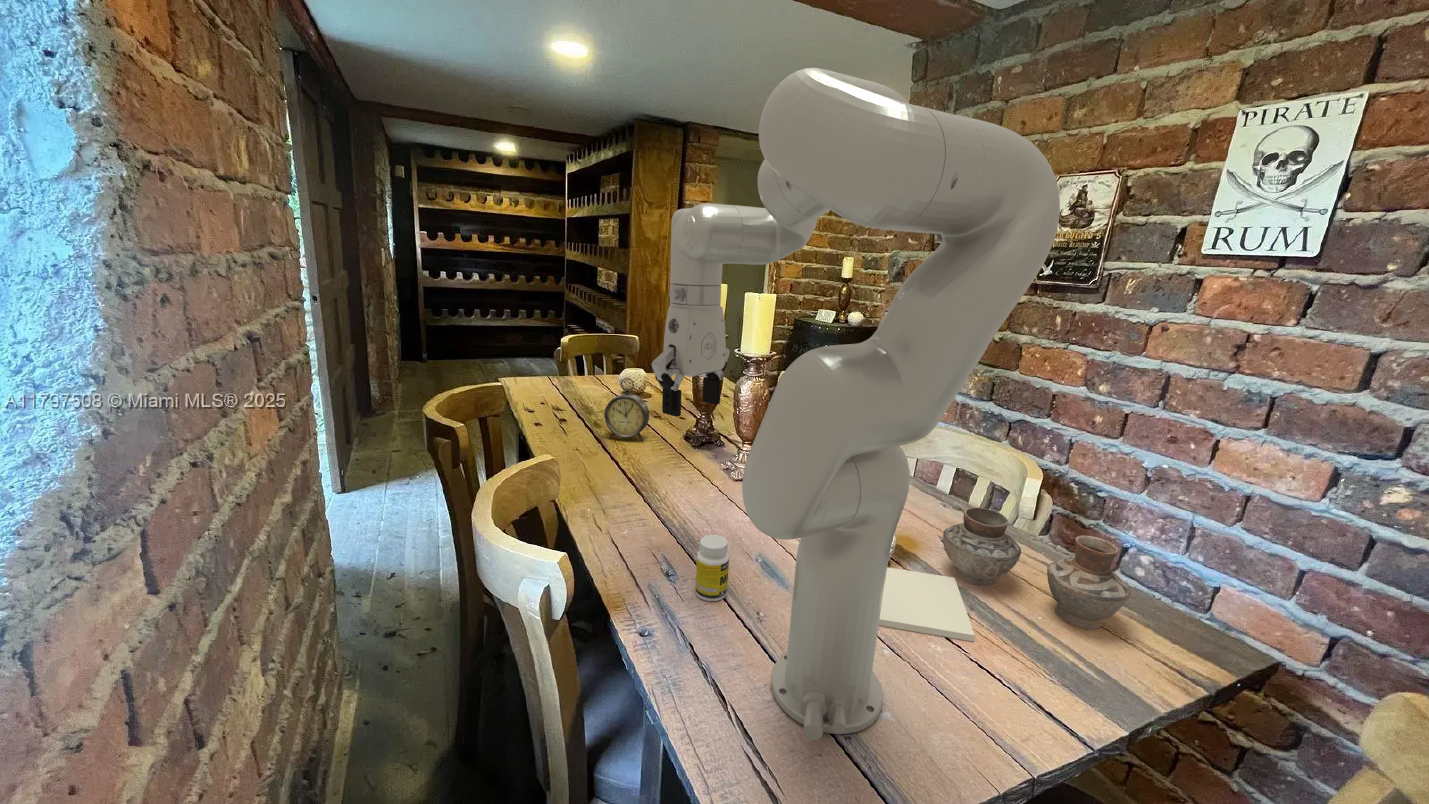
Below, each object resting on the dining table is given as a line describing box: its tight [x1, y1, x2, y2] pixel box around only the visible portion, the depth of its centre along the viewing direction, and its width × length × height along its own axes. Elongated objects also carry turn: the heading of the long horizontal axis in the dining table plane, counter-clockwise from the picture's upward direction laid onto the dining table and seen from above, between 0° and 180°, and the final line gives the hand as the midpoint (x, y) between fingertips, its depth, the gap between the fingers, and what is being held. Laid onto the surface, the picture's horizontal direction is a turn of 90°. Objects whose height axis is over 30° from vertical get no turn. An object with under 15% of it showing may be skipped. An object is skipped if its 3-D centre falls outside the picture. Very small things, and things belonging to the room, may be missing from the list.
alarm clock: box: [603, 377, 650, 442], centre depth 144 cm, size 11×5×16 cm, turn 81°
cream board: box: [878, 566, 976, 643], centre depth 82 cm, size 14×14×1 cm
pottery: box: [942, 506, 1131, 631], centre depth 84 cm, size 11×25×12 cm, turn 48°
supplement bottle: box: [694, 534, 730, 602], centre depth 81 cm, size 5×5×8 cm
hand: (692, 408), depth 87 cm, fingers open, 9 cm apart
